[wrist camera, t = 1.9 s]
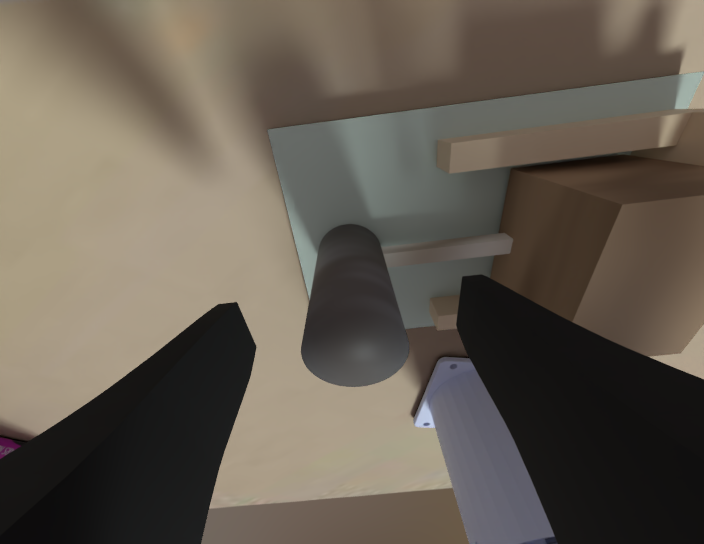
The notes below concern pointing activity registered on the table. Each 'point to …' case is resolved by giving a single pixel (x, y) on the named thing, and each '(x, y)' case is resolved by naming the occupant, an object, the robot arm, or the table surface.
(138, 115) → the table surface
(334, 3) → the table surface
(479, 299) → the robot arm
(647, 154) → the lane board
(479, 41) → the table surface
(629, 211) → the brown piece
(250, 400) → the table surface
